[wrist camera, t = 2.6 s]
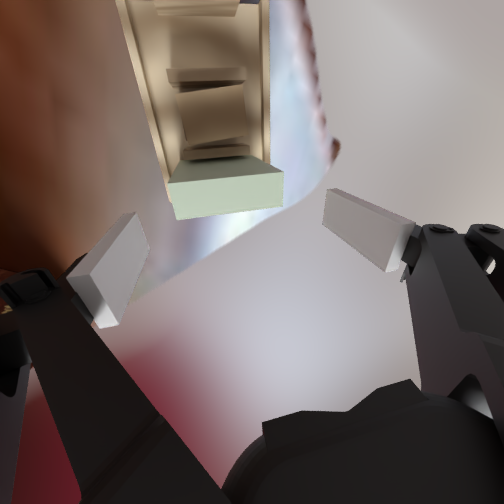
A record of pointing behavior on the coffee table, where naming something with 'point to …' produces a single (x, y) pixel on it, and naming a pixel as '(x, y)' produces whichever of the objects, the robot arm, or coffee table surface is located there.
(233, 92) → the offcut oak
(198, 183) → the sage board
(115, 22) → the coffee table surface
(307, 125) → the coffee table surface
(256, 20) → the rack
